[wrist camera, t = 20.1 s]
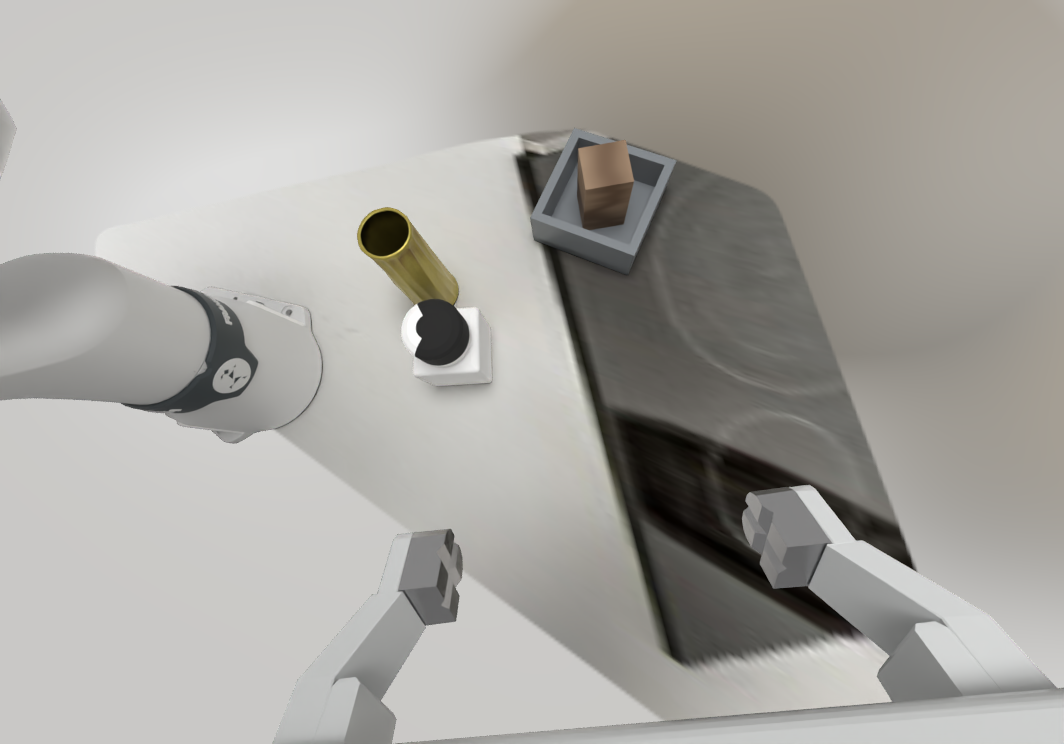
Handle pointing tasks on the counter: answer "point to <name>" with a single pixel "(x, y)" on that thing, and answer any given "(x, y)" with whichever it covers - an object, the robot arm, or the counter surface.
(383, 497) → the counter surface
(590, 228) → the block
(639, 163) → the bin
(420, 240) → the vase
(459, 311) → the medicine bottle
